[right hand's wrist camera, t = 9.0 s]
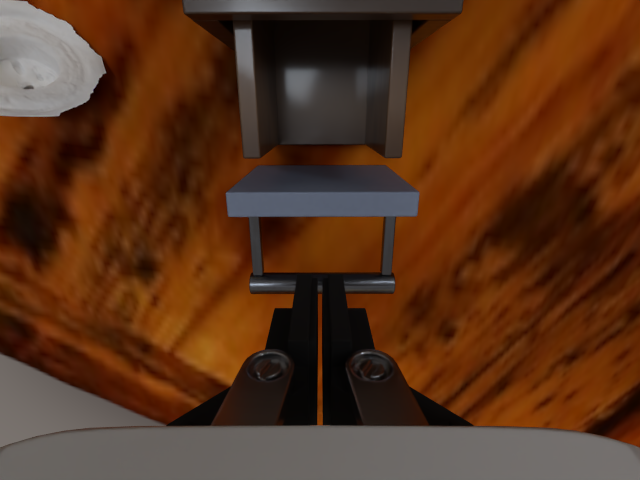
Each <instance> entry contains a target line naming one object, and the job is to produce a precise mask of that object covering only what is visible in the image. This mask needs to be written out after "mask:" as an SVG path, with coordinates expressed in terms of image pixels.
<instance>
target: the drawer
mask: <svg viewBox="0 0 640 480" xmlns="http://www.w3.org/2000/svg"><path fill="white" fill-rule="evenodd" d="M412 21H413V20H233V33H234V46H235V58H236V71H237V84H238V96H239V109H240V122H241V134H242V147H243V157H244V158H261V157H262V156H264V155H265V154H266V153H268V152H269V151H270V150H272V149H273V148H274V147H276V146H277V145H367V146H369V147H370V148H372V149H373V150H374V151H376V152H377V153H379V154H380V155H382V156H383V157H385V158H401V157H402V148H403V135H404V123H405V110H406V97H407V84H408V72H409V59H410V46H411V34H412ZM226 201H227V211H228V216H229V217H249V228H250V240H251V253H252V266H253V273H251V275H250V282H249V287H250V293H251V294H294V293H295V286H296V279H297V274H312V278H318V294H322V278H328V274H343V279H344V286H345V293H346V294H393V293H394V291H395V277H394V274H393V273H392V259H393V246H394V233H395V221H396V216H417V212H418V202H419V192H418V191H417V190H416V189H415V188H413V187H412V186H411V185H410V184H408V183H407V182H406V181H405V180H403V179H402V178H401V177H400V176H398V175H397V174H396V173H395V172H393V171H392V170H391V169H389V168H388V167H387V166H386V165H276V166H257V167H256V168H255V169H254V170H252V171H251V172H250V173H249V174H248V175H246V176H245V177H244V178H243V179H242V180H240V181H239V182H238V183H237V184H236V185H235V186H233V187H232V188H231V189H230V190H229V191H227V192H226ZM261 217H384V221H383V236H382V252H381V267H380V271H381V272H320V273H264V261H263V246H262V231H261Z"/></svg>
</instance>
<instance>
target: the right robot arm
mask: <svg viewBox="0 0 640 480" xmlns="http://www.w3.org/2000/svg"><path fill="white" fill-rule="evenodd" d="M317 382H318V278H312V274H297V279H296V286H295V293H294V300H293V307H292V308H275V310H274V313H273V318H272V322H271V326H270V330H269V335H268V339H267V343H266V348H265V350H262V351H259V352H256V353H254V354H252V355H251V356H249V357H248V358H247V359H246V360H245V362H244V363H243V365H242V367H241V369H240V370H239V372H238V374H237V376H236V378H235V380H234V382H233V384H232V386H231V387H229V388H228V389H226V390H224V391H223V392H221V393H219V394H218V395H216V396H214V397H213V398H211V399H209V400H208V401H206V402H204V403H203V404H201V405H199V406H198V407H196V408H194V409H193V410H191V411H189V412H188V413H186V414H184V415H183V416H181V417H179V418H178V419H176V420H174V421H173V422H171V423H169V424H168V425H167V426H129V427H102V428H85V429H76V430H67V431H61V432H56V433H51V434H46V435H41V436H36V437H32V438H29V439H26V440H22V441H19V442H16V443H12V444H9V445H6V446H3V447H1V448H0V480H640V447H637V446H634V445H631V444H628V443H625V442H621V441H618V440H614V439H611V438H608V437H604V436H599V435H594V434H589V433H584V432H579V431H573V430H564V429H555V428H538V427H511V426H473V425H472V424H471V423H469V422H467V421H466V420H464V419H462V418H461V417H459V416H457V415H456V414H454V413H452V412H451V411H449V410H447V409H446V408H444V407H442V406H441V405H439V404H437V403H436V402H434V401H432V400H431V399H429V398H427V397H426V396H424V395H422V394H421V393H419V392H417V391H416V390H414V389H412V388H411V387H409V386H408V384H407V382H406V380H405V378H404V376H403V374H402V372H401V370H400V369H399V367H398V365H397V363H396V362H395V360H394V359H393V358H392V357H391V356H389V355H388V354H386V353H384V352H381V351H378V350H375V348H374V343H373V339H372V335H371V330H370V326H369V322H368V318H367V313H366V310H365V308H348V307H347V300H346V293H345V286H344V279H343V274H328V278H322V382H323V425H330V426H310V425H317Z"/></svg>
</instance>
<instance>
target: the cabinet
mask: <svg viewBox="0 0 640 480" xmlns="http://www.w3.org/2000/svg"><path fill="white" fill-rule="evenodd" d="M182 3H183V11H184V14H185V15H186V16H188V17H189V18H191V19H192V20H193V21H194V22H195V23H197V24H198V25H200V26H201V27H202V28H204V29H205V30H206V31H208V32H209V33H211V34H212V35H213V36H215V37H216V38H217V39H219V40H220V41H222V42H223V43H224V44H226V45H227V46H228V47H230V48H231V49H233V50H234V51H235V46H234V33H233V20H413V21H412V34H411V46H410V49H411V48H413V47H414V46H416V45H417V44H418V43H420V42H421V41H423V40H424V39H425V38H427V37H428V36H430V35H431V34H432V33H434V32H435V31H437V30H438V29H439V28H441V27H442V26H444V25H445V24H446V23H448V22H449V21H451V20H452V19H454V18H455V17H456V16H458V15H459V14H461V12H462V7H463V0H182Z"/></svg>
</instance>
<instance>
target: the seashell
mask: <svg viewBox="0 0 640 480" xmlns="http://www.w3.org/2000/svg"><path fill="white" fill-rule="evenodd" d="M75 32H76V31H74V30H73V27H72V26H71V25H70V24H68V23H67V22H66V21H63V20H60V19H58V18H56V17H54V16H53V15H51V14H48V13H46V12H44V11H42V10H41V9H36V8H35V7H34V6H32V5H30V4H28V2H27V1H15V0H0V116H24V117H46V116H59V115H60V113H61V112H64V111H66V110H69V109H72V108H73V107H77V106H78V105H81V104H83V103H86V101H88V100H89V99H90V94H91V93H93V89H94V88H95V87H96V85H97V84H98V80H99V78H101V77H102V75H103V74H105V73H106V71H105V67H104V64H103V61H102V57H101V56H99V55H98V54H97V53H95V52H94V50H93V49H91V48H90V47H89V44H87V42H86V41H85V40H83V39H82V38H81V37H80V36H78V35H77V34H76V33H75Z"/></svg>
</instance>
